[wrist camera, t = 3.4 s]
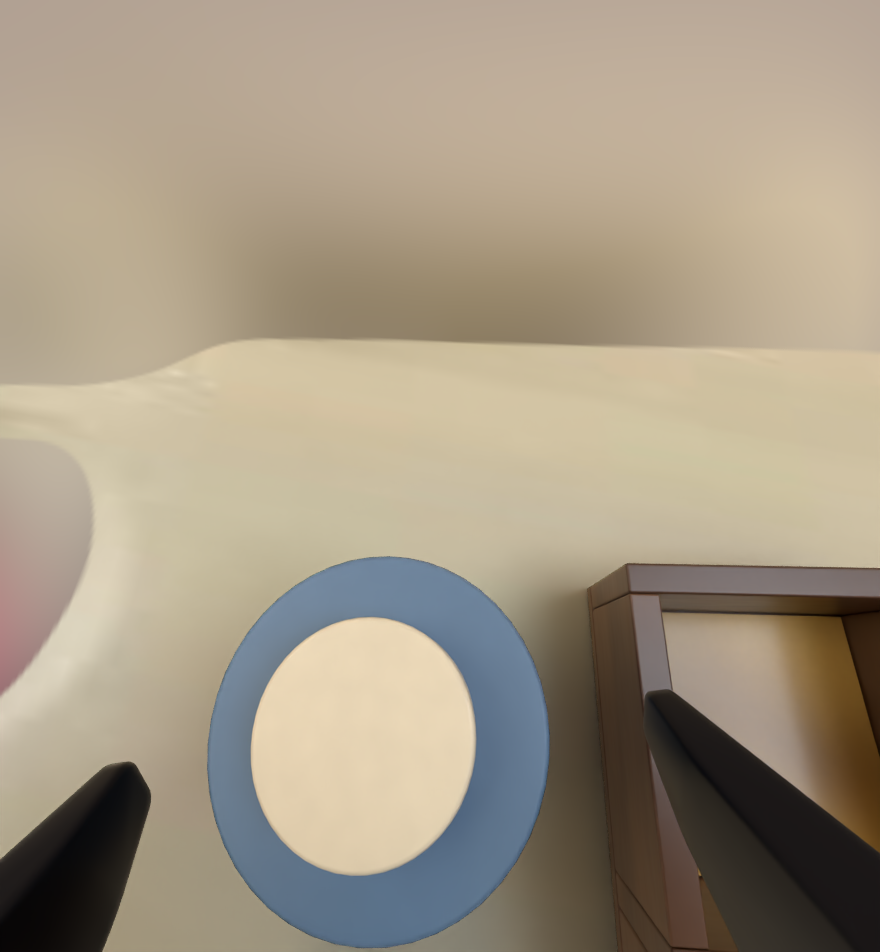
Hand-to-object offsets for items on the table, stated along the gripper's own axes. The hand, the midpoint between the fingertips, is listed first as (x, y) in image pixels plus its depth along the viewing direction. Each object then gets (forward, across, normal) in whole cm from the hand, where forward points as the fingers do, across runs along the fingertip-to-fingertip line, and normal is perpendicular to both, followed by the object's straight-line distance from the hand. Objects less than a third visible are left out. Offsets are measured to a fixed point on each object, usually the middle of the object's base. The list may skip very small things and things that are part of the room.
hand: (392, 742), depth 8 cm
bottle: (+6, 0, +6) cm, 8 cm away
